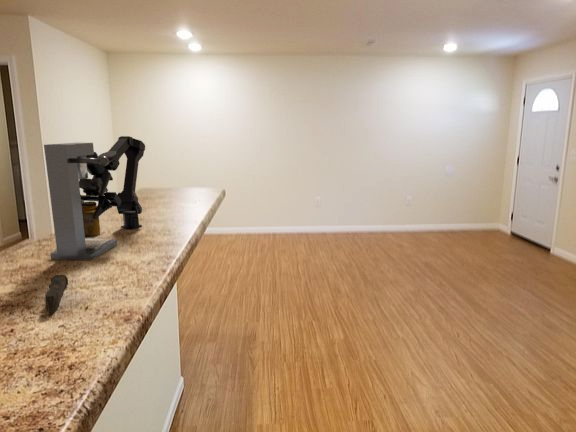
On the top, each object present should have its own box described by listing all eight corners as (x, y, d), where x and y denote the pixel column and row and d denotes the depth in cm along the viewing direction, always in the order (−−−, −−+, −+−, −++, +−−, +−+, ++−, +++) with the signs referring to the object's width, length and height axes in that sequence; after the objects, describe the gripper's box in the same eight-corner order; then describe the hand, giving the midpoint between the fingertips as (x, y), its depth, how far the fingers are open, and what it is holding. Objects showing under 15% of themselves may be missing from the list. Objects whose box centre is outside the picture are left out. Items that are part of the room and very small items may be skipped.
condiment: (105, 232, 149) (102, 201, 146) (93, 238, 141) (90, 205, 138) (86, 232, 149) (82, 200, 147) (73, 238, 141) (69, 205, 138)
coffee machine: (81, 243, 152) (70, 142, 144) (139, 245, 151) (131, 142, 142) (48, 260, 133) (33, 144, 125) (113, 262, 132) (102, 145, 123)
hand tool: (52, 288, 111) (50, 272, 110) (68, 286, 113) (66, 270, 112) (37, 318, 94) (34, 300, 93) (56, 316, 95) (53, 298, 94)
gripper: (64, 169, 144) (48, 205, 136) (114, 170, 143) (101, 206, 135) (79, 187, 154) (65, 222, 145) (126, 188, 152) (114, 223, 144)
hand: (85, 218), depth 142 cm, fingers closed on condiment, 6 cm apart
